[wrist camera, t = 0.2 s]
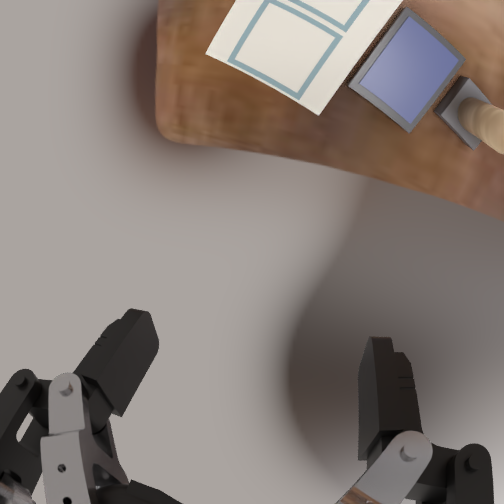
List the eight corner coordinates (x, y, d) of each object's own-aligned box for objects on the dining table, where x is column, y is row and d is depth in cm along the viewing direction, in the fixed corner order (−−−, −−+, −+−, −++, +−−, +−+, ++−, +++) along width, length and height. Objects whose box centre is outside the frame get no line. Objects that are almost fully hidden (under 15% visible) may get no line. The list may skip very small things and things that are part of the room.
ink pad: (403, 8, 16) (407, 6, 15) (460, 58, 17) (467, 59, 16) (346, 84, 23) (348, 86, 21) (405, 130, 24) (410, 134, 22)
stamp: (460, 75, 19) (503, 88, 12) (491, 111, 19) (535, 134, 13) (433, 111, 22) (469, 133, 15) (465, 144, 22) (503, 175, 16)
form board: (289, -72, 13) (289, -74, 13) (408, -8, 15) (409, -9, 15) (206, 53, 23) (204, 54, 23) (318, 114, 25) (318, 116, 25)
